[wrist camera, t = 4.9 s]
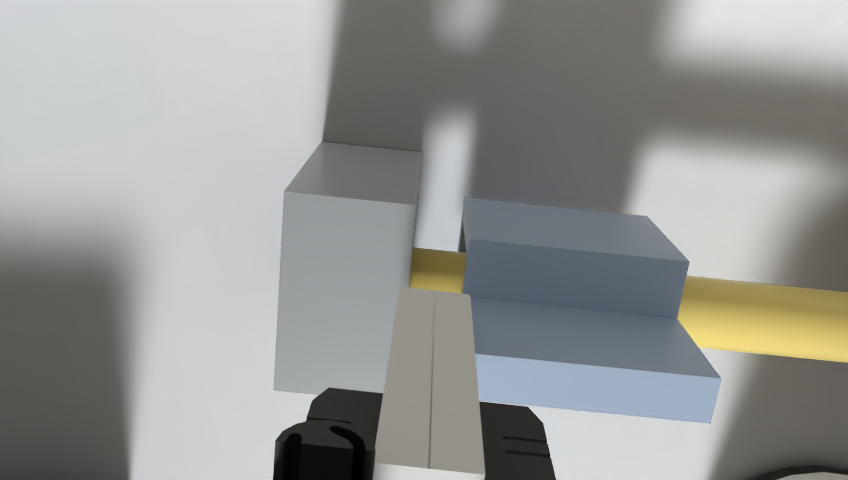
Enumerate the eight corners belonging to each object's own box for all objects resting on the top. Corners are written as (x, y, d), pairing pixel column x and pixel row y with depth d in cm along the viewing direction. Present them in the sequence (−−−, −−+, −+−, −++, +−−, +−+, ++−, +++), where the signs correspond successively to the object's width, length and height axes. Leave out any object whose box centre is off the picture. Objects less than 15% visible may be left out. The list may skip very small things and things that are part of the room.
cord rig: (311, 297, 25) (267, 406, 19) (321, 141, 24) (276, 200, 17) (993, 365, 26) (1188, 498, 19) (1045, 217, 24) (1276, 304, 18)
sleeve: (448, 326, 23) (453, 459, 16) (464, 197, 22) (476, 286, 15) (622, 343, 23) (696, 483, 16) (647, 216, 22) (737, 312, 15)
